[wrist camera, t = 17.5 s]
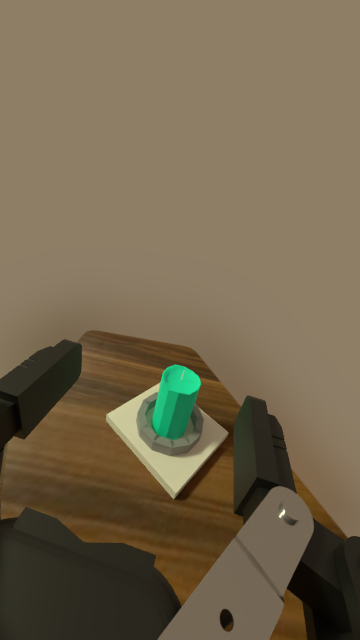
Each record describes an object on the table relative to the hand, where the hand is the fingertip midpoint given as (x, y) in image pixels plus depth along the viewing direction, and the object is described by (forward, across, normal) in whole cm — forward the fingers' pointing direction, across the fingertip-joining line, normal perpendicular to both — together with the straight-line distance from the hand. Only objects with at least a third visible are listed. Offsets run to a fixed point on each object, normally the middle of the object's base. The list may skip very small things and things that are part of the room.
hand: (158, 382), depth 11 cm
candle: (+19, -1, +27) cm, 33 cm away
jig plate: (+20, -1, +28) cm, 34 cm away
